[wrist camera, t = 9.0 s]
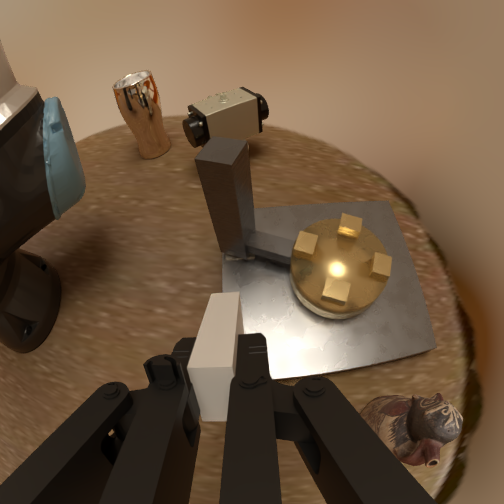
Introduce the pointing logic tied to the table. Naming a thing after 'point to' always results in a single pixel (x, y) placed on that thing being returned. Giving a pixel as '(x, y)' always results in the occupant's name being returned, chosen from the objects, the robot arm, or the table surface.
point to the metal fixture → (289, 251)
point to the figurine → (414, 426)
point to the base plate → (321, 328)
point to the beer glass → (142, 112)
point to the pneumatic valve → (226, 117)
